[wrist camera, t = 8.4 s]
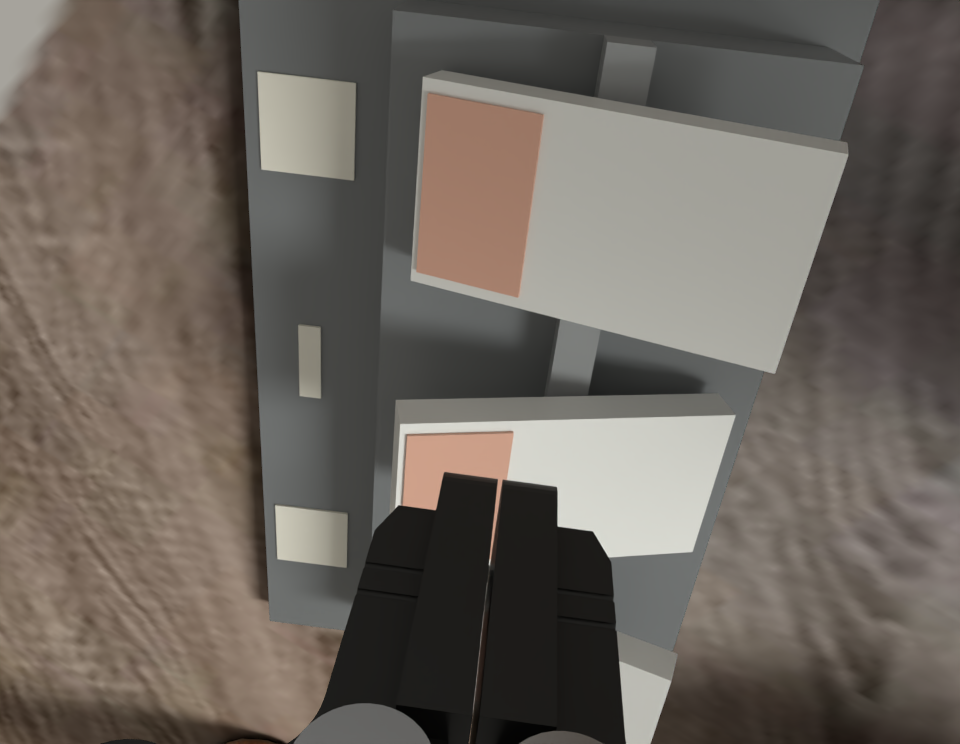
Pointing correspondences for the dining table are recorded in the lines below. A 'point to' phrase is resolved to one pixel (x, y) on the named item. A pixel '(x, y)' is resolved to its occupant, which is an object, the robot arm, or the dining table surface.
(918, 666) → the dining table surface
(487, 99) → the switch
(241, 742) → the sauce bottle
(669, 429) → the switch
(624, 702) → the switch
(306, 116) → the switch box
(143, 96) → the dining table surface
